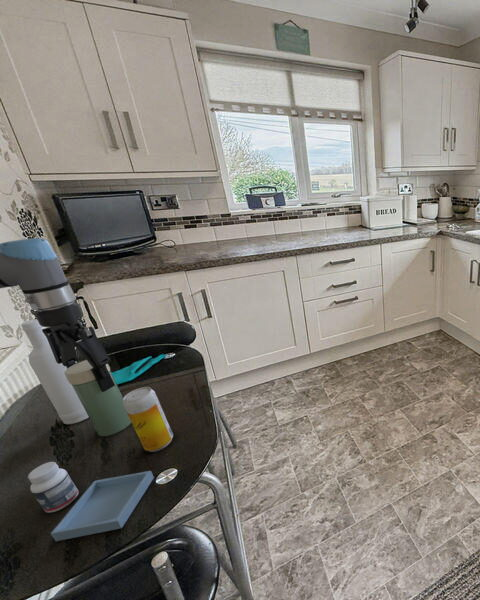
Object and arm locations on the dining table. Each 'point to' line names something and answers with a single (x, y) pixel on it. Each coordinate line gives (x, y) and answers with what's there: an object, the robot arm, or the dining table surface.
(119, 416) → the flask
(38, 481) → the pill bottle
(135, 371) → the turquoise rubber glove
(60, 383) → the bottle
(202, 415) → the dining table surface
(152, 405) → the beer can
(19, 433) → the dining table surface
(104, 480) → the dish
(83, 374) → the flask lid
